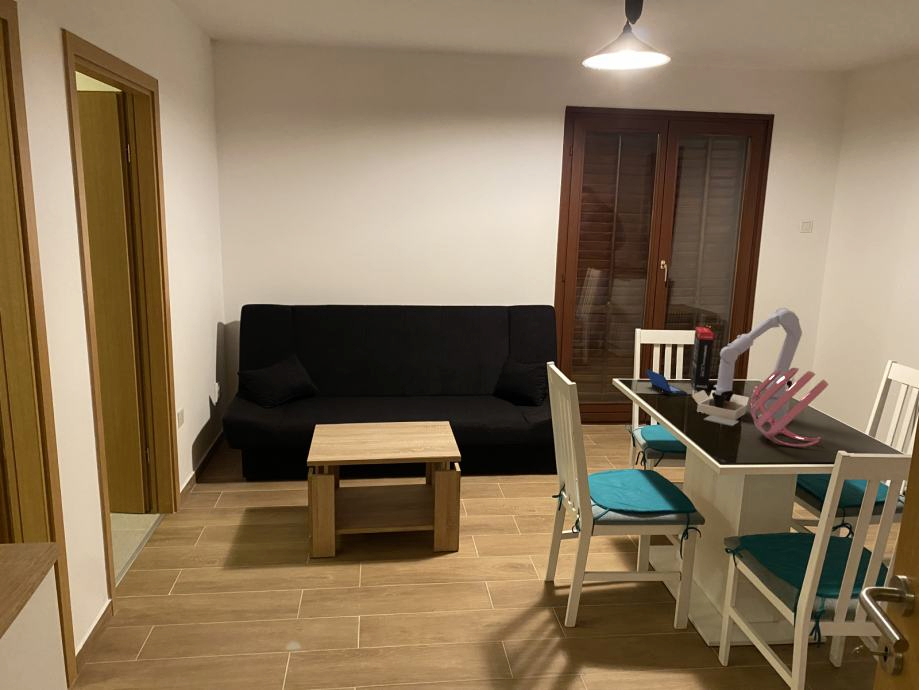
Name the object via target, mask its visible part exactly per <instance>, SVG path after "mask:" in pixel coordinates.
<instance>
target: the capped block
mask: <svg viewBox="0 0 919 690" xmlns="http://www.w3.org/2000/svg"><path fill="white" fill-rule="evenodd" d="M709 406H713V407H715V402H714V398H712V399H710V402H709ZM723 409H727V410H732V411H734V410H735V402H730V401H724V404H723Z"/></svg>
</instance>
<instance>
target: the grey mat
mask: <svg viewBox="0 0 919 690" xmlns="http://www.w3.org/2000/svg"><path fill="white" fill-rule="evenodd" d="M703 421H706V422H712V423H716V424H721V425H725V426H730V427H734V426H735V425H736V424H738V423H739V422H740V421H739V420H737V419H736V420H731V419H727V418H722V417H718V416H713V415H708V416H707V417H705V418H703Z"/></svg>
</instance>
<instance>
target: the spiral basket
mask: <svg viewBox="0 0 919 690" xmlns="http://www.w3.org/2000/svg"><path fill="white" fill-rule="evenodd" d="M799 371H800V368H798V367H792V368H791V367H790V368H789V371H787V372H786V373H785V374H784V375H783V376H782V377H781V378H780V379H779V380H778V381H777V382H776V383H774V384H773V385H772V386H771V387H770V388H769V389H768V390H767V391H766V390H765V388H766V387H767V386H768V385H769V384H770V383H771V382H772V381H773V380H774V379H775V378H776V377H777V376H778V375H779V374H780V373H781V372H782V369H779V370H776V371H775V372H774V373H772V372H771V373H772V374H770V375H769V376H768V377H767V378H765V380H764V381H763V382H761V384H757V386H756V385H755V387H754V388H753V391H751V392H752V393H751V395H750V402H749V403H750V404H749V411H750V414H751V415H750V416H751V417H752V420H753V422H754V426H755V427H756V428H757V429H758V430H759V431H760V432H761V433H762V434H763V435H764V437H765V438H766V439H768V440H770V441H772V442H774V443H776V444H779V445H782V446H785V447H790V448H791V447H792V448H804V447H808V446H812V445H813V446H814V445H815V444H817V443H819V441H820V440H821V437H805V436H800V435H798V434H796V433H794V432H791V430H788V429H787V428H786V426H787V425H788V424H789V423H791V422H792V421H793V420H794V419H795V418H796V417H797V416H798V415H799V414H800V413H802V411H804V409H806V408H807V407H808V406H809V405H810V404H811V403H812V402H813V401H814V400H815V399H816V398H817V397H818V396H819V395H820V394H821V393H822V392H823V391H824V390H825V389H826V388H827V387H828V386H829V383H828V381H826V380H825V379H822V380H820V381H819V382H818V383H817V384H816V385H815V386H814V387H813V388H811V390H810V391H809V392H808V393H806V394H805V395H804V396H803V397H802V398H801V399H800V400H799V401H798V402H797V403H796V404H795V405H794V406H793V407H792V408H791V409H789V410H788V413H787V414H785V415H784V416H783V417H782V418H781V419H780V420H779V421H776V420H774V419H773V415H774V414H775V413H776V412H777V411H778V410H779V409H780V408H781V407H782V406H783V405H784V404H785V403H786V402H787V401H788V400H789V401H790V400H792V399H791V398H793V397H794V396H795V395H796V394H797V393H798V392H799V391H800V390H801V389H802V388H803V387H804V386H806V384H808V382H810V380H812V379H813V378H814V376H816V373H815V372H814V371H810V370H808V371H806V372H805V373H804V374H803V375H802V376H801V377H800V378H799V379H798V380H797V381H795V382H794V384H792V385H791V386H790V387H789V388H788V389H786V392H785V393H784V394H783V395H782V396H781V397H780V398H779V399H778V400H777V401H776V402H775V403H774V404H773V405H771V406H770V407H769V408H768V409H767V410H766V409H765V407H764V404H765V403H766V402H767V401H768V400H769V399H770V398H771V397H772V396H773V395H774V394H775V393H776V392H777V391H778V390H780V389H781V388H782V387H783V386H784V385H785V384H787V383H788V382H789V381H790V380H791V379H792V378H793V376H795V375H796V374H797V373H798V372H799ZM785 386H786V385H785ZM764 390H765V392H764V393H763V394H762V395H761V393H762V392H763V391H764ZM755 398H756V399H755ZM753 400H756V401H753ZM757 411H760V415H761V413H762V415H761V416H760V417H759V418H758V417H757V416H756V412H757ZM766 423H768V424H769V425H770V426H771V427H770V429H769V430H768V431H767V430H765V429H764V428H763V425H764V424H766ZM779 433H781V434H783V435H785V436H787V437H788V438H791V439H795V440H797V441H801V442H802V441H803V442H805V443H799V444H795V443H788V442H785V441H782V440H779V439H777V438H776V436H777V435H778V434H779ZM806 442H807V443H806Z"/></svg>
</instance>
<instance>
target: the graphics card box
mask: <svg viewBox="0 0 919 690" xmlns="http://www.w3.org/2000/svg"><path fill="white" fill-rule="evenodd" d="M694 331H695V332H694V338H693V339H694V340H693V351H692V359H691V370H690V379H689V382H690V384H691V386H692V389H693V390H694V391H702V390H704V391H705V392H707V391H709V387H710V385H709V384H710V377H711V376H710V375H711V367H712V358H713V347H714V339H715V338H714V337H715V333H714V332H712V330H711V329H710V328H709V327H702V326H695V330H694Z"/></svg>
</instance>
